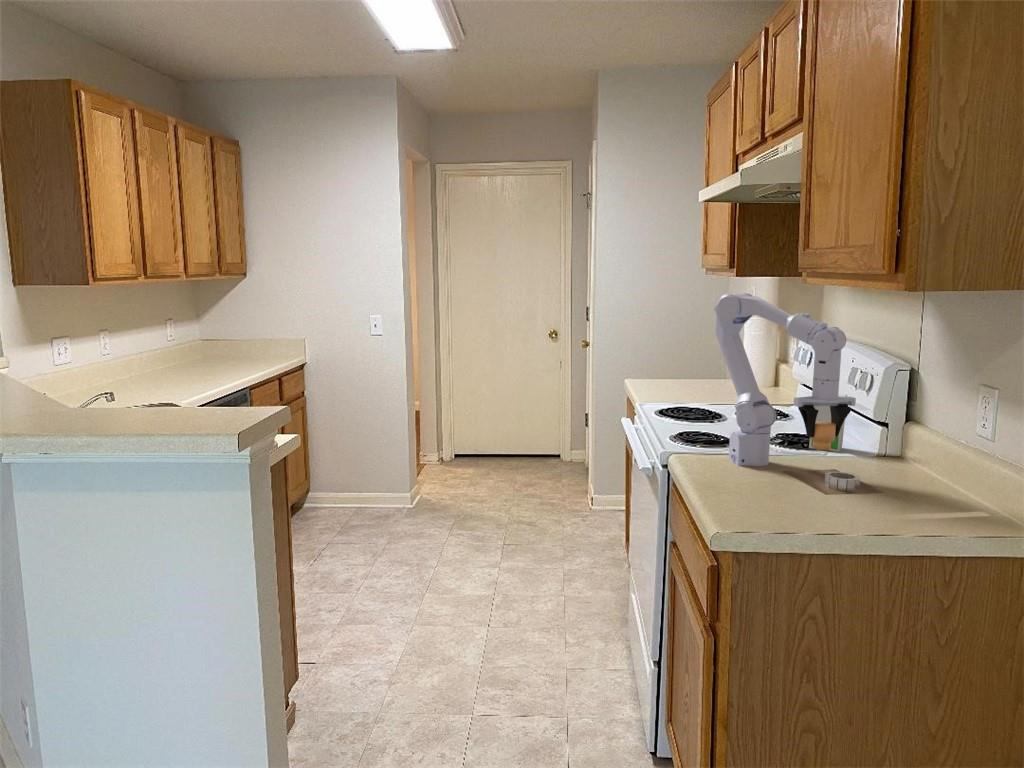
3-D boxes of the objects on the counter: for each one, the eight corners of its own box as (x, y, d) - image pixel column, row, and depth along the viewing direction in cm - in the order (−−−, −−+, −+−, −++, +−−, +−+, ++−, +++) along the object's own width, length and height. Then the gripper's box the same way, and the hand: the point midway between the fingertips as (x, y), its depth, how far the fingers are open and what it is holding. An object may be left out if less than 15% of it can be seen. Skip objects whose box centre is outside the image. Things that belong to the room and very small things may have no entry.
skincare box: (808, 448, 215) (812, 393, 213) (812, 444, 221) (815, 390, 218) (840, 452, 211) (845, 396, 209) (843, 447, 217) (847, 393, 214)
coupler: (816, 451, 180) (818, 426, 179) (804, 446, 185) (806, 421, 184) (839, 450, 180) (840, 425, 180) (826, 445, 186) (827, 421, 185)
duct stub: (835, 491, 170) (836, 480, 170) (818, 482, 177) (819, 472, 177) (865, 490, 171) (866, 479, 171) (847, 481, 178) (848, 471, 178)
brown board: (825, 497, 168) (825, 494, 168) (781, 474, 188) (781, 470, 188) (884, 495, 170) (884, 492, 170) (835, 472, 190) (835, 469, 190)
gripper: (805, 382, 175) (802, 440, 177) (864, 381, 177) (860, 438, 179) (790, 377, 182) (787, 434, 184) (847, 377, 184) (843, 432, 186)
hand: (822, 436), depth 182 cm, fingers closed on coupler, 6 cm apart
